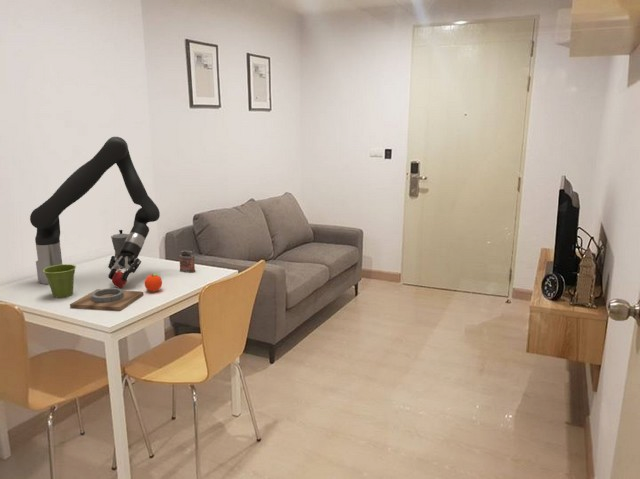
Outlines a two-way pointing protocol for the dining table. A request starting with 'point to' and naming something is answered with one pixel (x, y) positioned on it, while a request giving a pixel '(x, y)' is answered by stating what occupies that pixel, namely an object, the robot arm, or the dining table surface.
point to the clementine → (153, 282)
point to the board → (113, 306)
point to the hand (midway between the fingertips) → (116, 279)
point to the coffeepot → (118, 243)
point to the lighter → (187, 262)
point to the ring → (113, 298)
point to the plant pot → (60, 279)
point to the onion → (118, 279)
